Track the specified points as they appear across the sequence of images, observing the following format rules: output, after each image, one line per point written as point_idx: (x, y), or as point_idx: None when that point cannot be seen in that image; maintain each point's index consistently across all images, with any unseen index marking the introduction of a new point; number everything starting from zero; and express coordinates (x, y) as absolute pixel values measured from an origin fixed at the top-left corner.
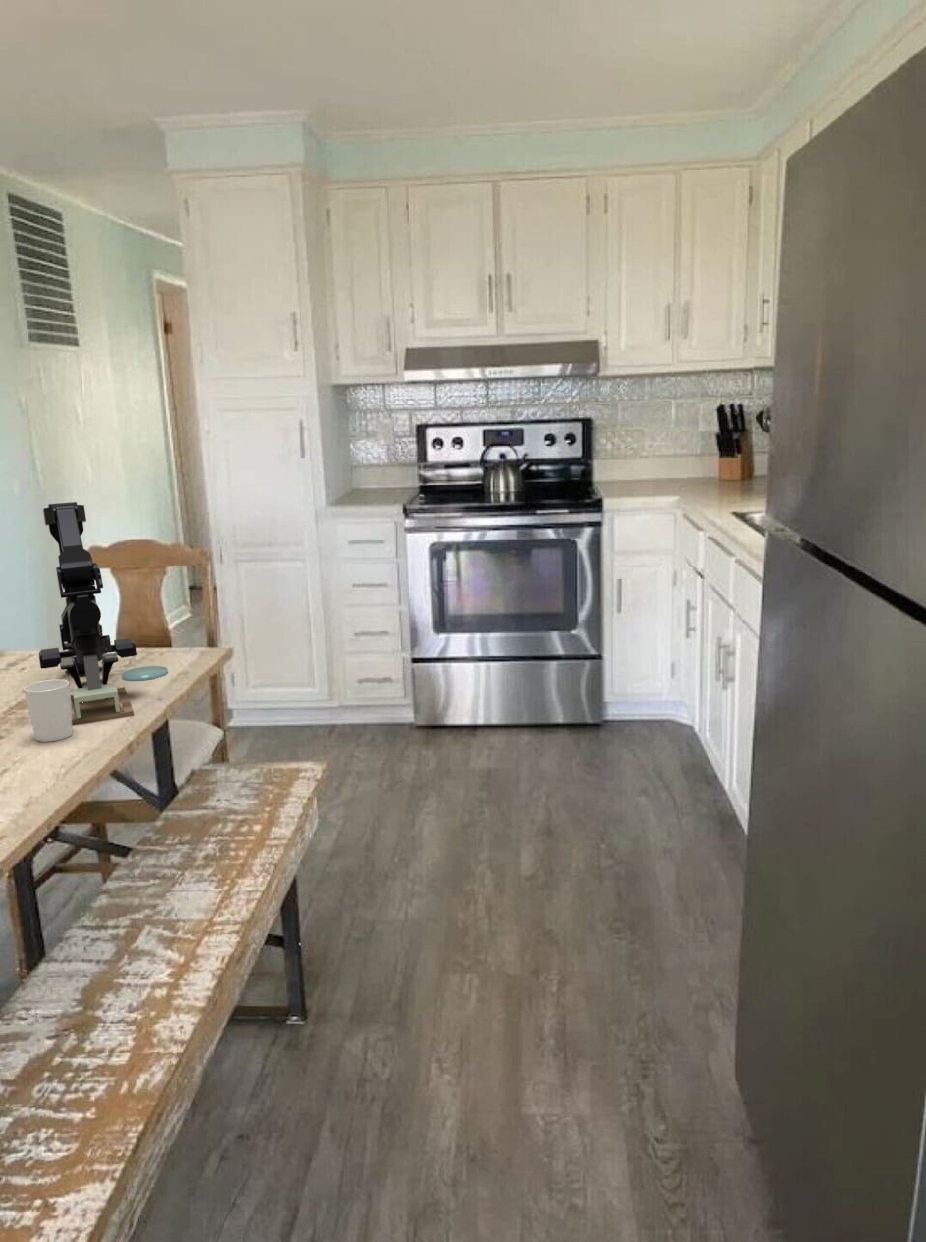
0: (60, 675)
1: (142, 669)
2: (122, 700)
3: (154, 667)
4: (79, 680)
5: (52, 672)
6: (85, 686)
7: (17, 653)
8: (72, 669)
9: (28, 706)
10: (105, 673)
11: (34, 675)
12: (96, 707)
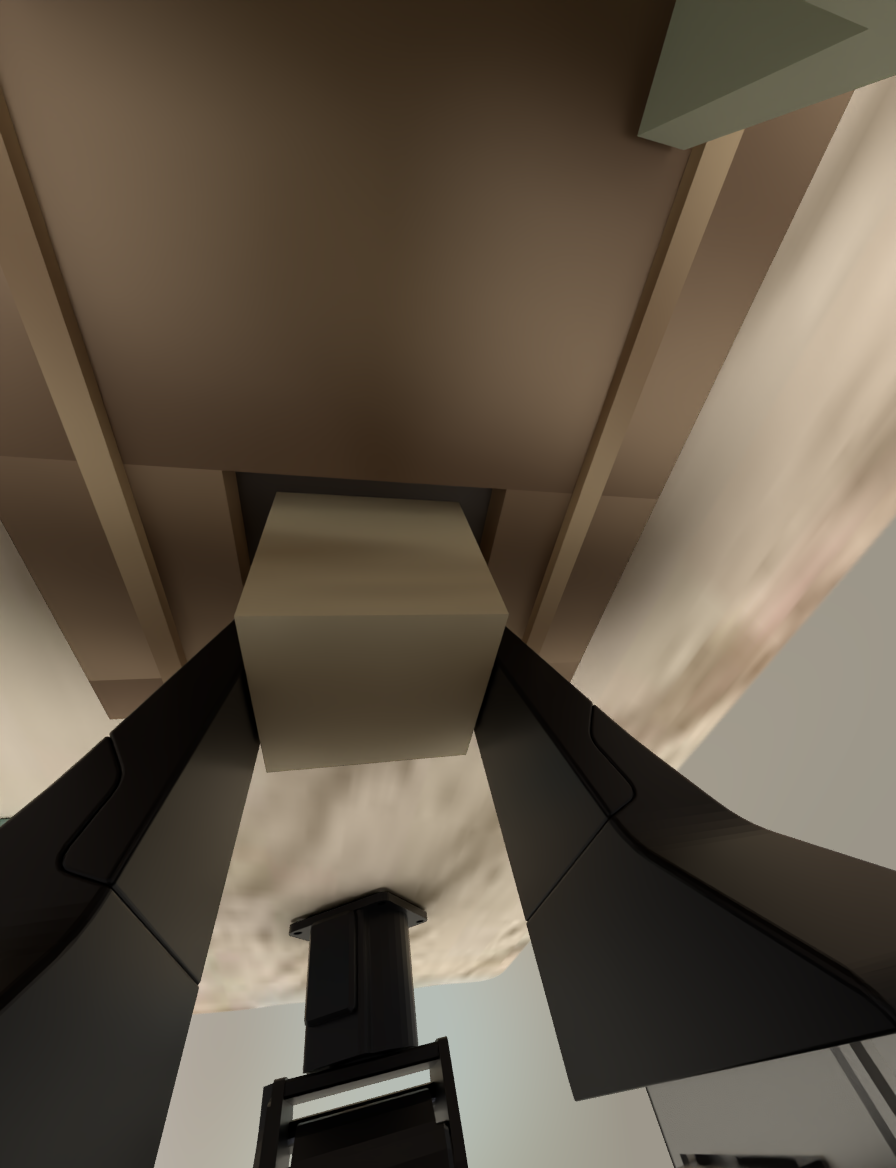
0: (444, 900)
1: None
2: None
3: None
4: (543, 709)
5: (458, 915)
6: (473, 613)
7: (487, 977)
8: (809, 887)
9: None
10: (125, 787)
11: (509, 904)
12: (396, 87)
